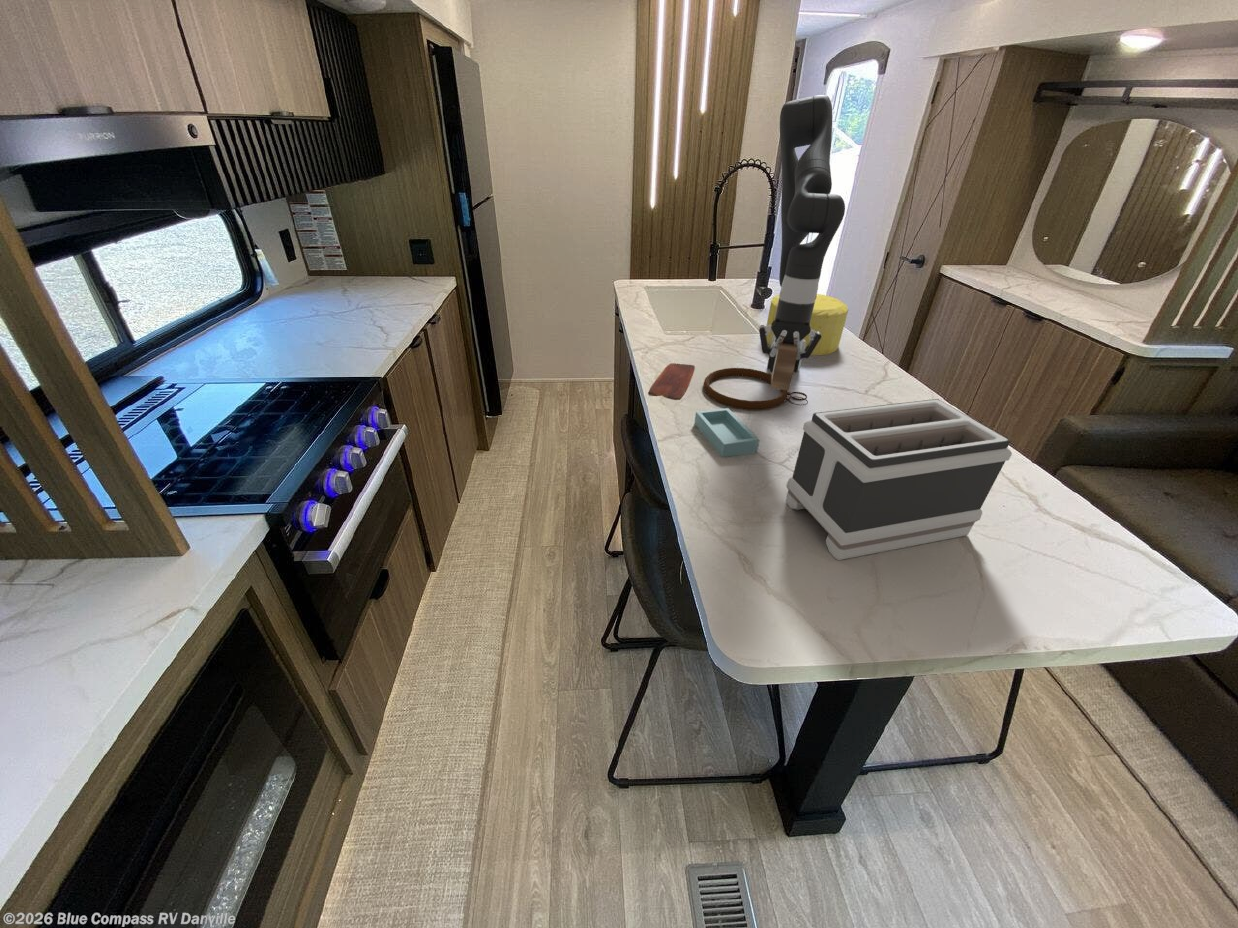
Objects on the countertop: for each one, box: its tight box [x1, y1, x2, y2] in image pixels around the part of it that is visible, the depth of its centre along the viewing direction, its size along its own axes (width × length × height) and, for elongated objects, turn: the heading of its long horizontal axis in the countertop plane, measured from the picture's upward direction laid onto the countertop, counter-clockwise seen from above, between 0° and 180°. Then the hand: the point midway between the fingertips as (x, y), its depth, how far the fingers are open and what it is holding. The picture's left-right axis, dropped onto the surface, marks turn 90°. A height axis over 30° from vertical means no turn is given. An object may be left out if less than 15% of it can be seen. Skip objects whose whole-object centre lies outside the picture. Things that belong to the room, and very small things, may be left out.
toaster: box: [785, 398, 1013, 561], centre depth 97 cm, size 18×34×21 cm, turn 105°
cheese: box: [766, 293, 849, 356], centre depth 183 cm, size 26×26×15 cm
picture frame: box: [770, 343, 798, 392], centre depth 118 cm, size 12×4×9 cm, turn 165°
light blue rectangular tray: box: [694, 407, 760, 458], centre depth 126 cm, size 16×9×4 cm, turn 16°
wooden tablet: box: [648, 362, 696, 401], centre depth 156 cm, size 27×10×2 cm, turn 161°
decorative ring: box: [702, 367, 809, 411], centre depth 149 cm, size 24×3×30 cm
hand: (781, 371), depth 120 cm, fingers closed on picture frame, 4 cm apart
